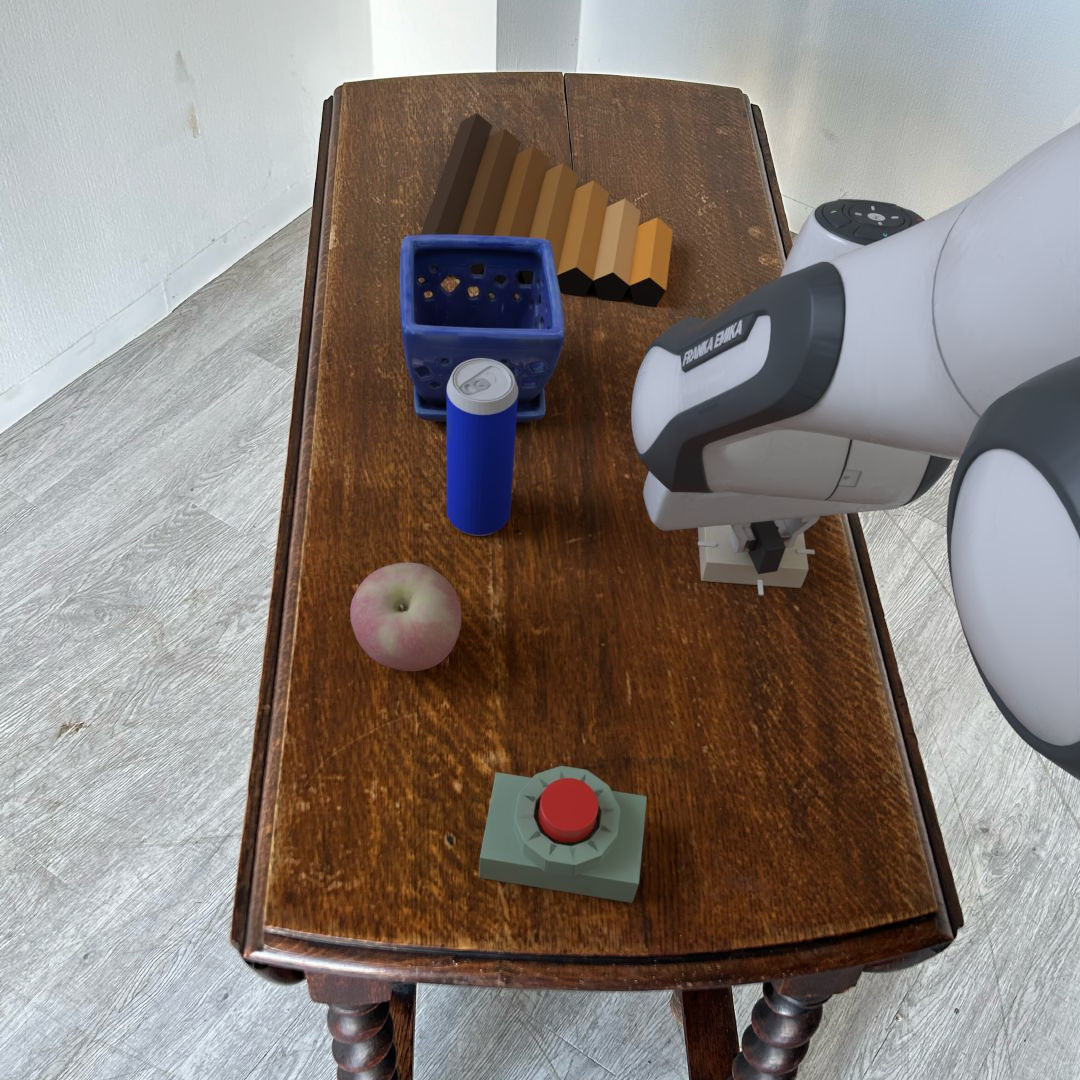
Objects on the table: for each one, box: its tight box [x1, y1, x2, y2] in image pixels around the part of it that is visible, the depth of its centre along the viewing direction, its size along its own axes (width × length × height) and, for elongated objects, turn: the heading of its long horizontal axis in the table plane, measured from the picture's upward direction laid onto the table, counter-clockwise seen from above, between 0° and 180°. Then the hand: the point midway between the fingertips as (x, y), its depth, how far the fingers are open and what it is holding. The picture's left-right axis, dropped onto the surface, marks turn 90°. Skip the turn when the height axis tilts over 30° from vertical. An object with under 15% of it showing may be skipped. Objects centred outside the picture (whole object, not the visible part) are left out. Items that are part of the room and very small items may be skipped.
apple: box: [349, 562, 462, 672], centre depth 79 cm, size 8×8×8 cm
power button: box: [539, 778, 598, 843], centre depth 69 cm, size 4×4×2 cm
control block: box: [478, 765, 648, 904], centre depth 71 cm, size 10×6×5 cm, turn 82°
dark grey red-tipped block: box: [748, 521, 786, 574], centre depth 86 cm, size 5×2×3 cm, turn 14°
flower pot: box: [399, 234, 566, 423], centre depth 96 cm, size 13×13×12 cm
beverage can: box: [446, 358, 518, 537], centre depth 85 cm, size 5×5×15 cm
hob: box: [697, 525, 816, 597], centre depth 92 cm, size 21×9×3 cm, turn 178°
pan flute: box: [419, 112, 674, 308], centre depth 117 cm, size 25×3×25 cm
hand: (761, 543), depth 87 cm, fingers closed, pressing on dark grey red-tipped block
